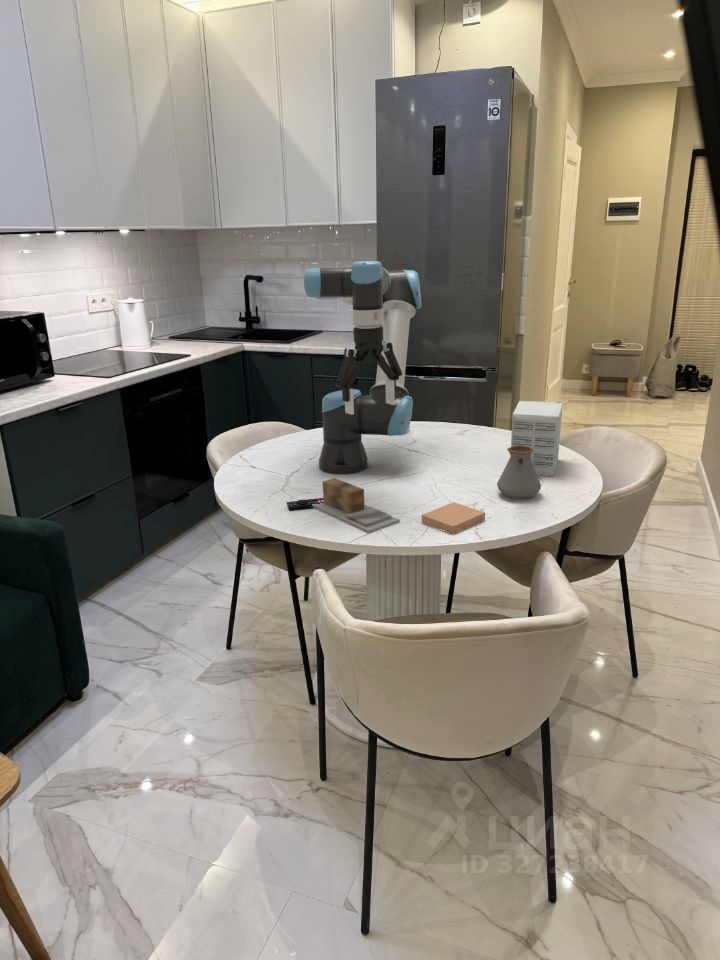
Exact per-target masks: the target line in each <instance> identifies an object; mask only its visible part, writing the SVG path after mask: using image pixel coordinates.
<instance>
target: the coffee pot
mask: <svg viewBox="0 0 720 960" xmlns="http://www.w3.org/2000/svg"><path fill="white" fill-rule="evenodd" d="M507 451H508V453H509V455H510V456H511V457H509V459H508V461H507V462H506V465H505V467H504V469H503V471H502V473H501V475H500V476H499V479H498V480H497V483H496V485H497V488H498V490H499V491H500V493H501V494H503V495H504V496H505V498H508V499H510V498H511V500H516V499H517V500H518V501H519V500H521V501H523V500H524V501H525V499H526V500H530V499H532V498H534V496H535V495H537V494H539V492H540V490H541V488H542V484H541V481H540V480H539V475H537V473H536V471H535V468H534V465H533V463H532V460H531V453H532V452H533V451H534V450H533V449H532V448H530V447H527V446H513V447H511V446H510V447H508V448H507Z"/></svg>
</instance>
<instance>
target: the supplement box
mask: <svg viewBox="0 0 720 960" xmlns="http://www.w3.org/2000/svg"><path fill="white" fill-rule="evenodd" d="M562 415H563V402H551V401H550V402H548V401H534V400H533V401H531V400H518V403H517V405H516V407H515V408H514V411H513V412H512V415H511V417H512V420H511V423H512V424H511V440H510V447H513V446H527V447H530V448H532V449H533V450H534V451H533V452H532V453H531V460H532V463H533V465H534V468H535V471H536V473H537V476H540V477H541V476H542V477H543V476H544V477H555V471H556V468H557V464H558V460H559V453H560V451H559V450H560V438H561V427H562V426H561V425H562ZM510 457H511V455H510ZM510 457H509V458H510Z"/></svg>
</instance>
